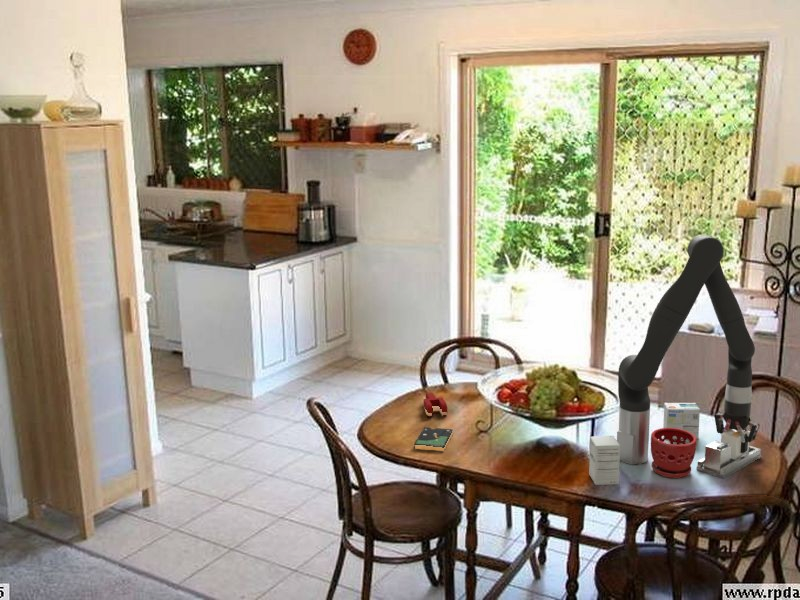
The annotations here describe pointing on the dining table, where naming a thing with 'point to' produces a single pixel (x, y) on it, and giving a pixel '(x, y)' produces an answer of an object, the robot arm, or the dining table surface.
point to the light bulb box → (682, 417)
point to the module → (734, 442)
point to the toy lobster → (434, 403)
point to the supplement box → (604, 460)
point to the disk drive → (433, 437)
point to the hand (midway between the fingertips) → (734, 449)
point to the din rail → (725, 459)
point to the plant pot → (672, 452)
